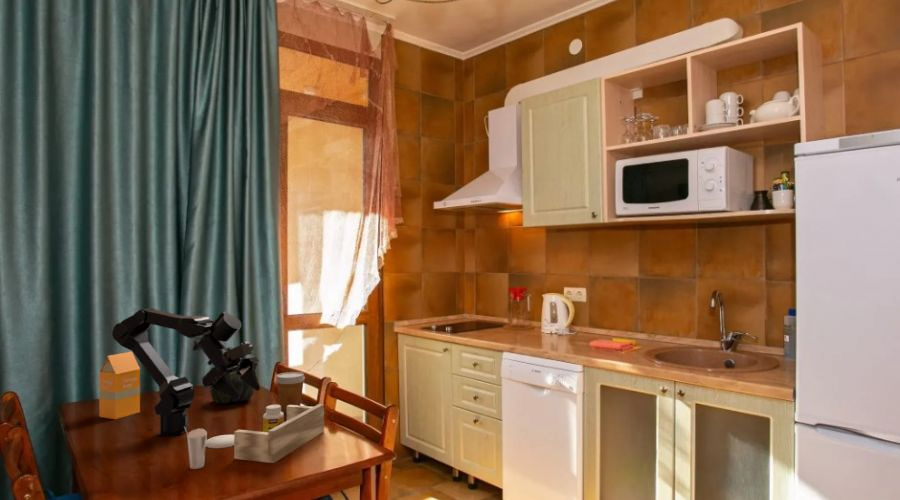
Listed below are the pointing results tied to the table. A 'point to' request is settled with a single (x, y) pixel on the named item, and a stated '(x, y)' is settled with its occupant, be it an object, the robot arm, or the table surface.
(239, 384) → the squash
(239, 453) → the wooden u-shaped barrier
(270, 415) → the supplement bottle
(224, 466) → the table surface
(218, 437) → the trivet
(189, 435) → the milkshake
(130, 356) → the orange juice
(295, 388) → the disposable coffee cup
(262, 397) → the table surface
